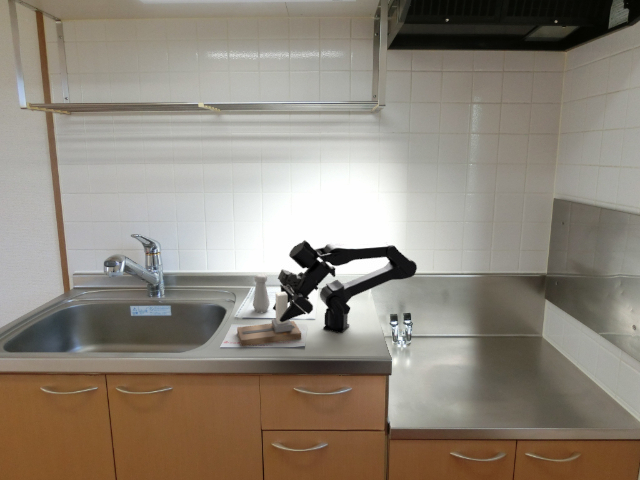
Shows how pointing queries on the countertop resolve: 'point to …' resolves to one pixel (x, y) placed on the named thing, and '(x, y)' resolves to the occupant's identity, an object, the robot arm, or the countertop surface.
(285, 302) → the fader tab
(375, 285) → the robot arm
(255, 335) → the brown slider track board
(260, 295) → the salt shaker
